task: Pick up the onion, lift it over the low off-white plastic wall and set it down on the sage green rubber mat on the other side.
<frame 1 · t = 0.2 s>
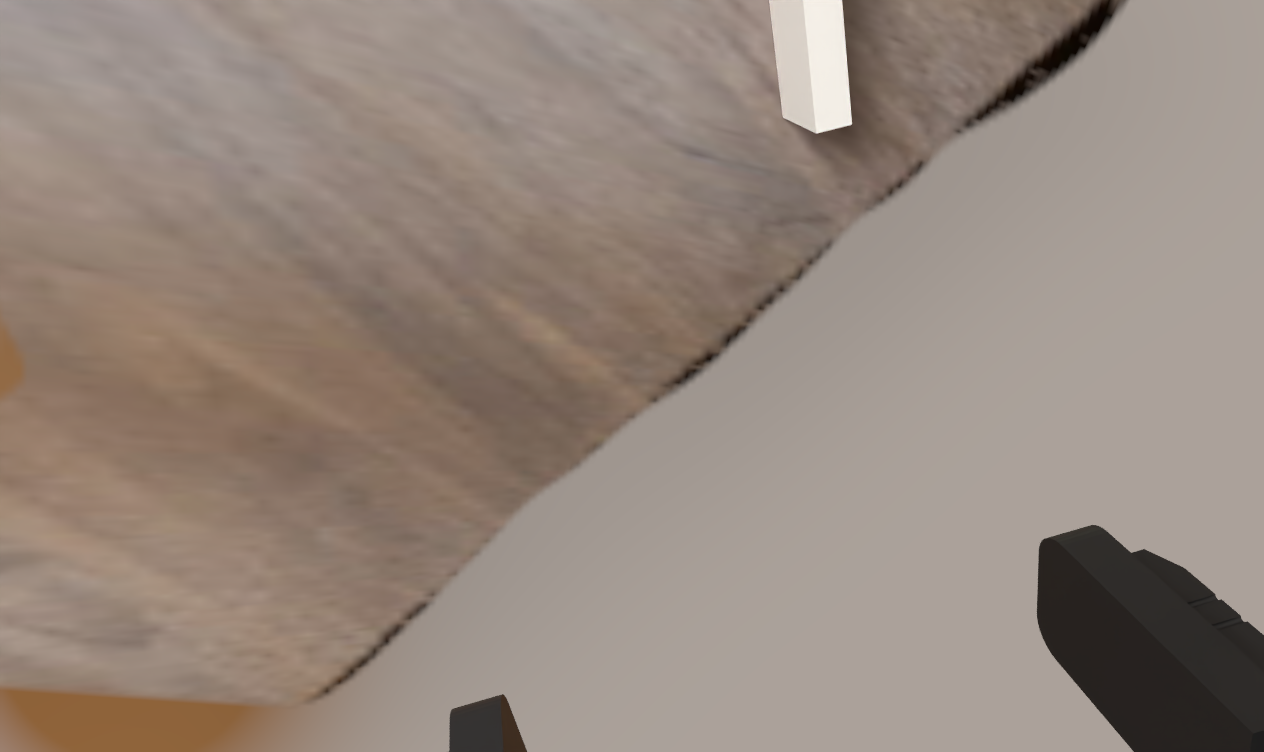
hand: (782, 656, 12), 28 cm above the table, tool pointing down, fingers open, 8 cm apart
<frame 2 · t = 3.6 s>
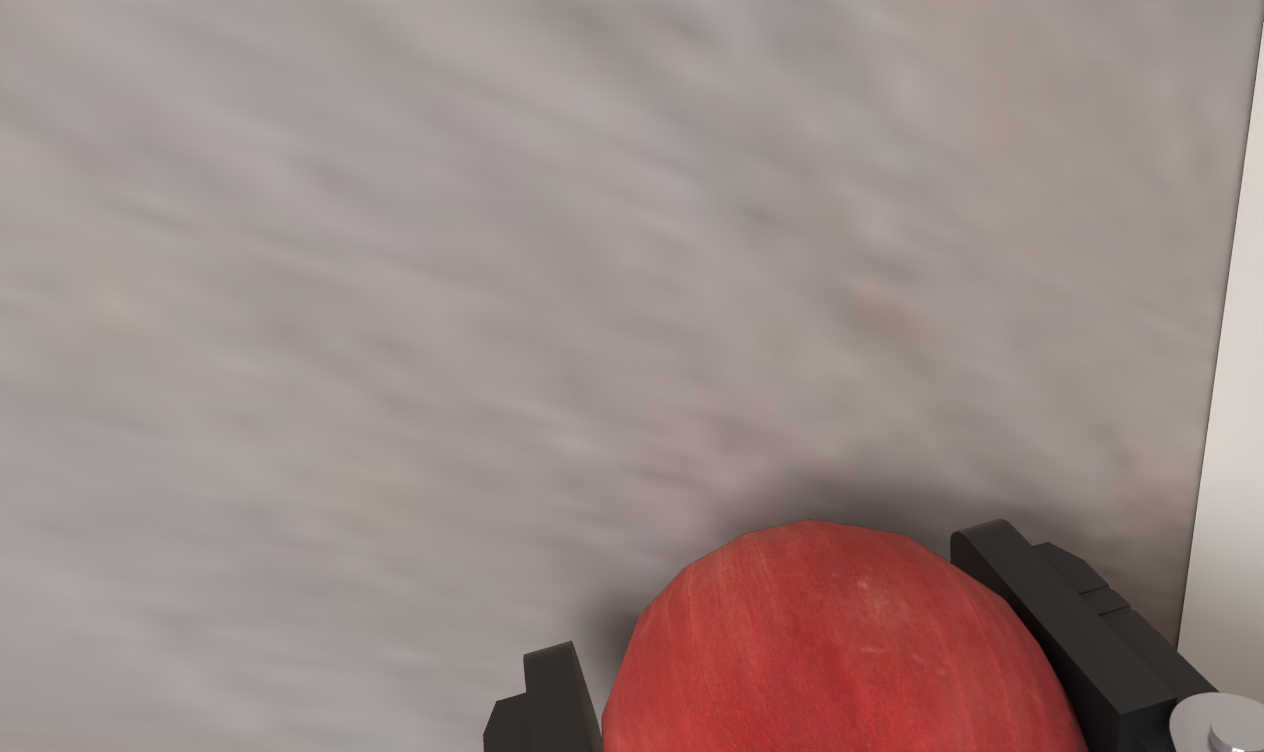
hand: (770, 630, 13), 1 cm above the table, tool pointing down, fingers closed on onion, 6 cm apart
low wall: (1231, 519, 16), on the table
onion: (742, 563, 14), on the table, touching gripper
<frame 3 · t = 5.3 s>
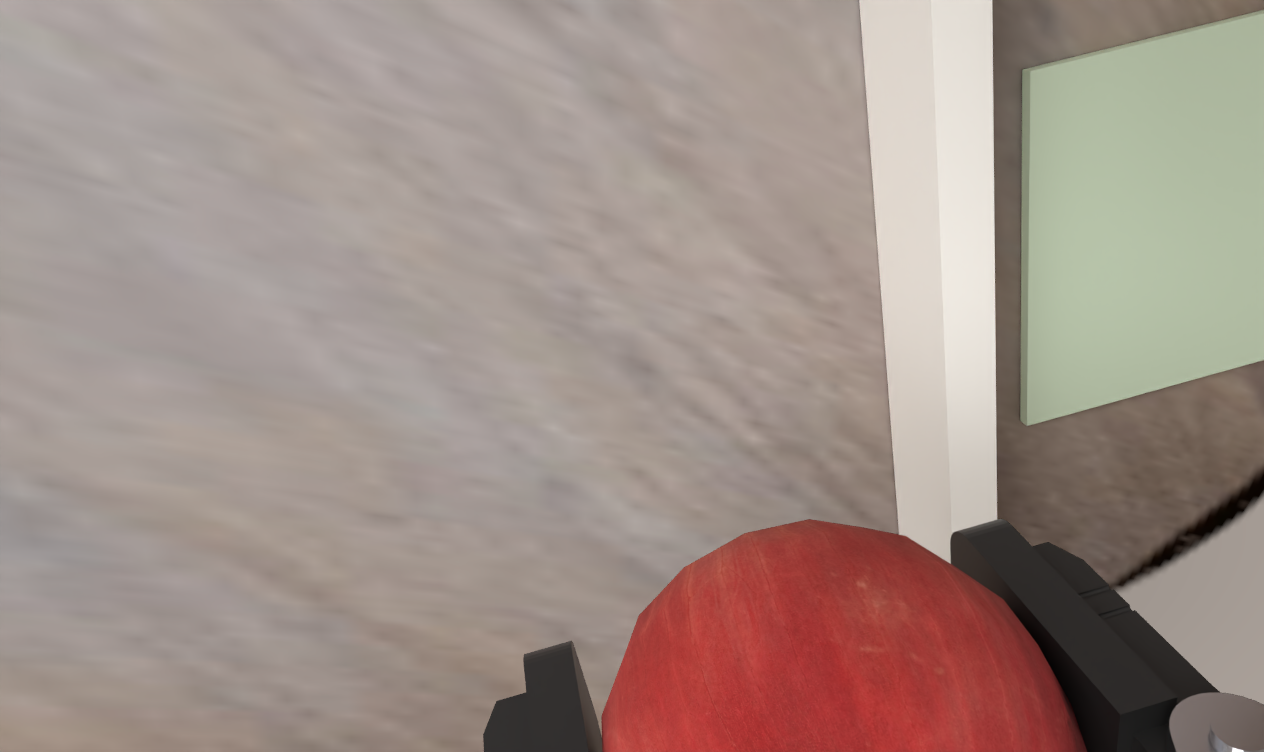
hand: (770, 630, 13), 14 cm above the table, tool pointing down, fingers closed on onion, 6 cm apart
low wall: (903, 293, 27), on the table
onion: (741, 562, 14), point 13 cm above the table, touching gripper
mat: (1192, 216, 28), on the table
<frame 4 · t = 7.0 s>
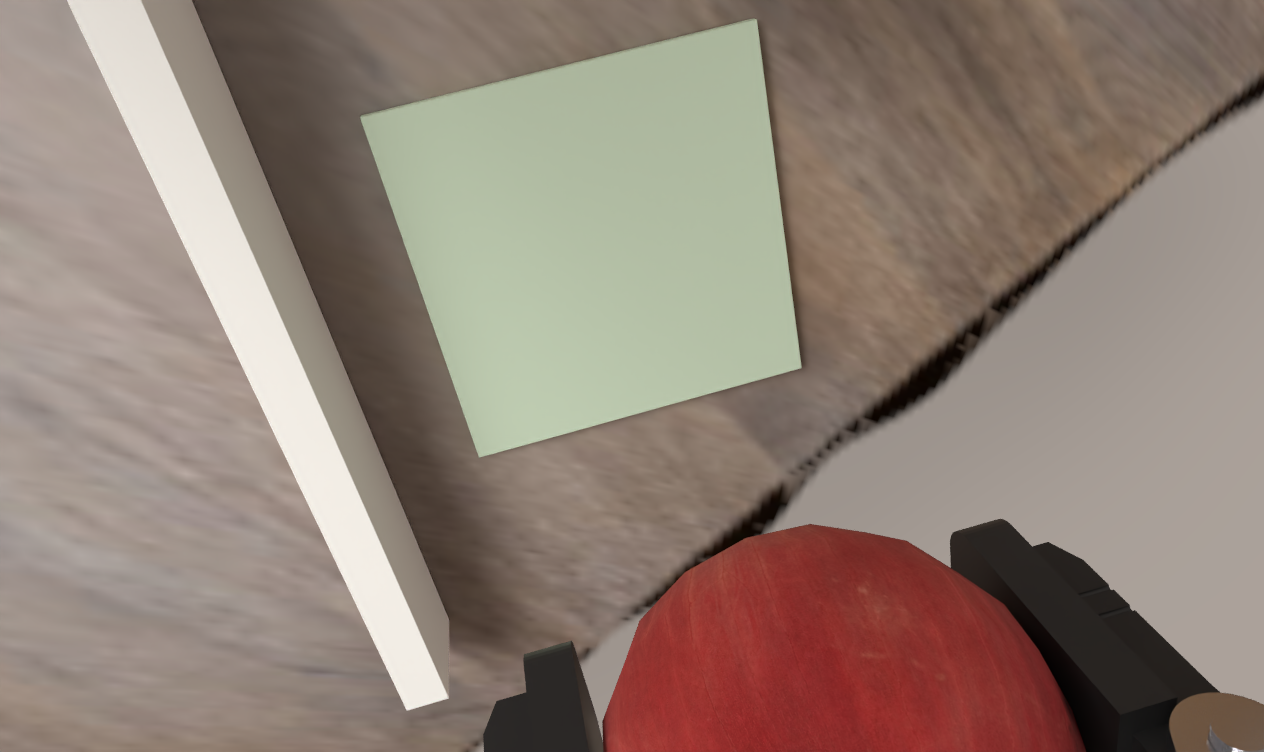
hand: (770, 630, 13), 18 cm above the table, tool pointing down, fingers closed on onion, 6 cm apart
low wall: (304, 332, 28), on the table
onion: (742, 566, 14), point 16 cm above the table, touching gripper
mat: (604, 253, 28), on the table
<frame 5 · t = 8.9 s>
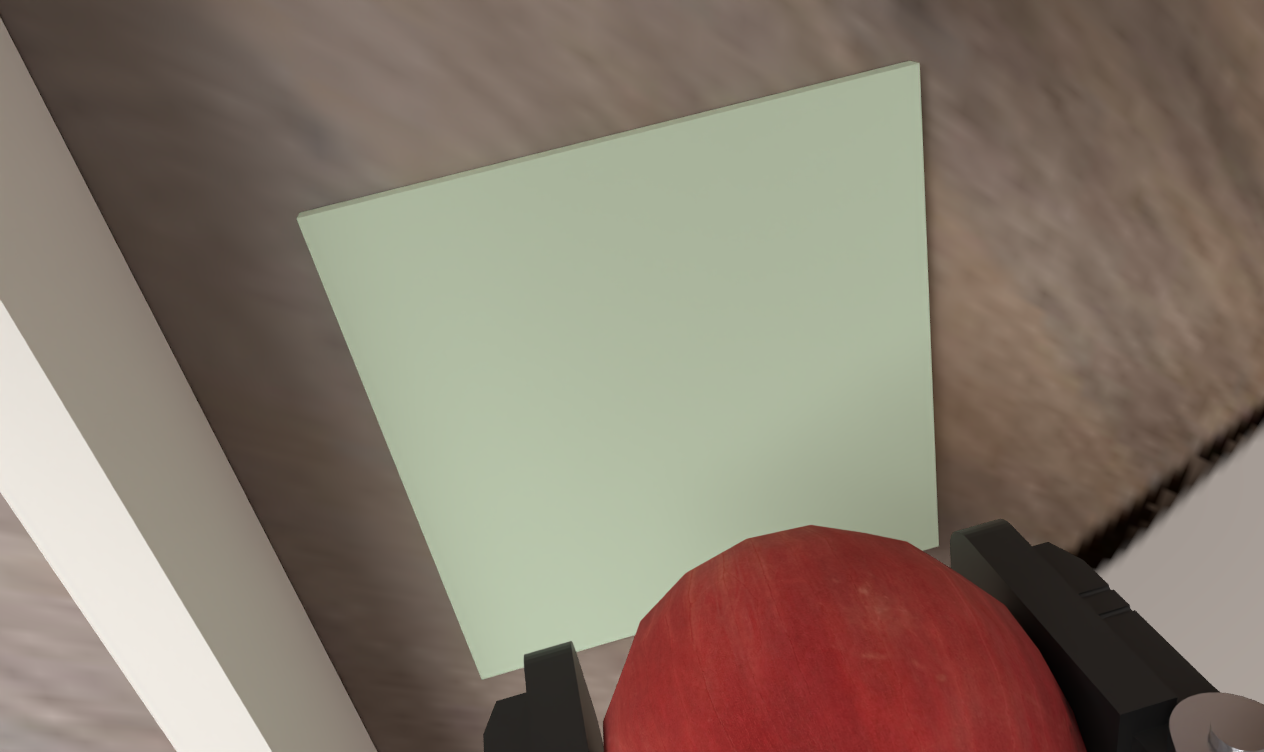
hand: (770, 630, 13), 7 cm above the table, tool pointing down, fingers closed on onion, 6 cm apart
low wall: (220, 524, 18), on the table
onion: (743, 567, 14), point 6 cm above the table, touching gripper
mat: (668, 402, 19), on the table
when the fingers open (3 cm above the table, at t = 10.7 s): onion drops 1 cm, resting on mat.
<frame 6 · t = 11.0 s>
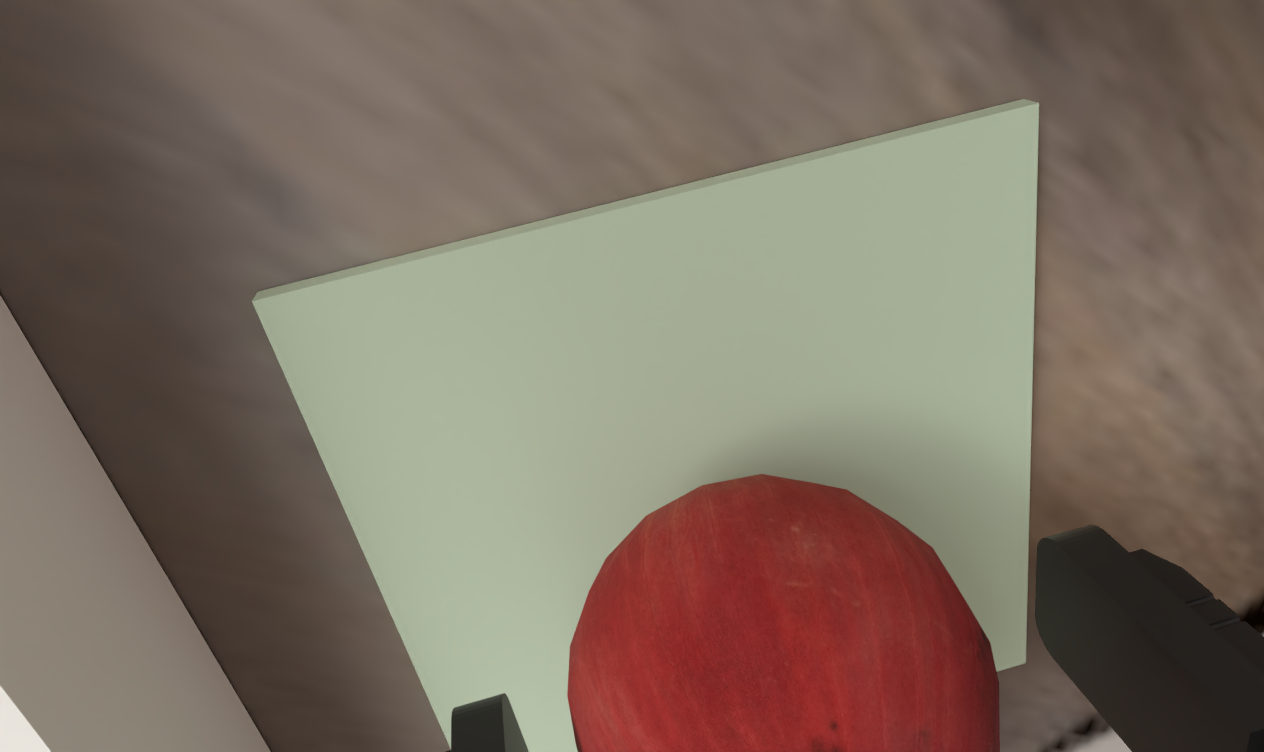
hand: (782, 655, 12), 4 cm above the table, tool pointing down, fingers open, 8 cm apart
low wall: (166, 660, 15), on the table
onion: (711, 516, 16), resting on mat
mat: (713, 507, 16), on the table
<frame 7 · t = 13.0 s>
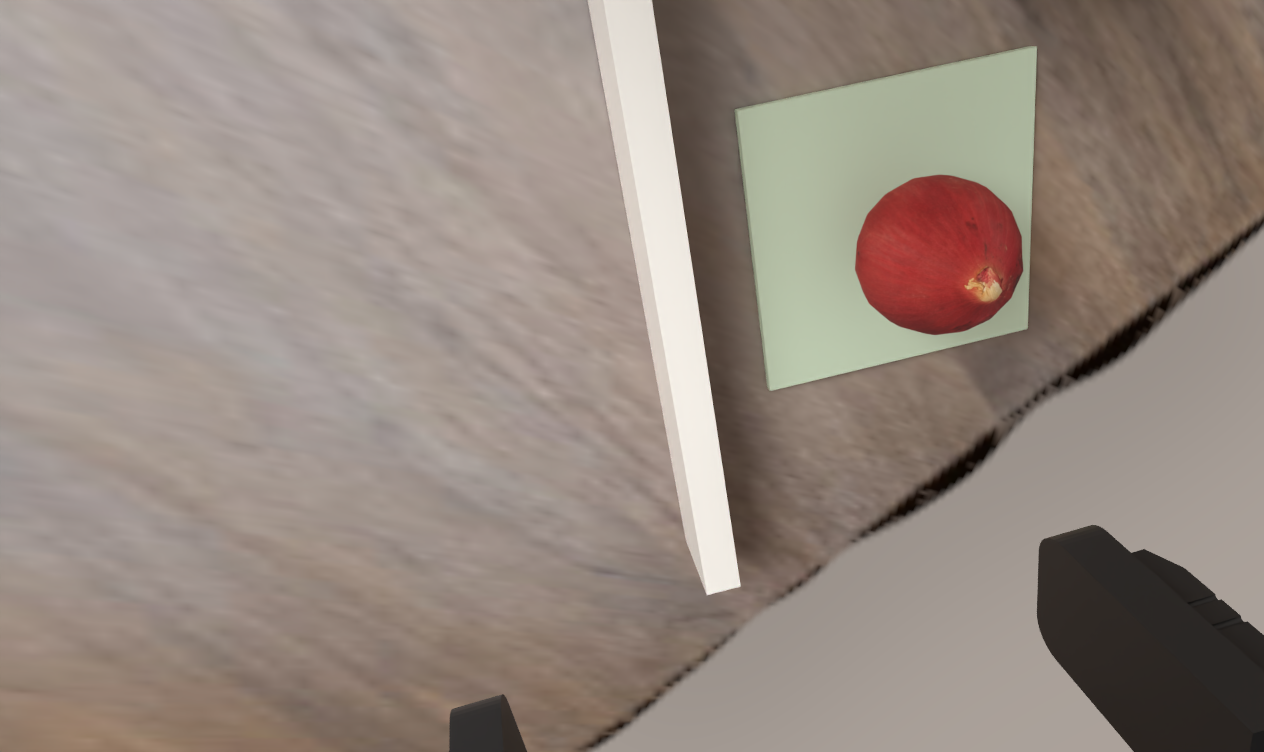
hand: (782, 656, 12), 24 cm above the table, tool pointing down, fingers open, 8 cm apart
low wall: (657, 280, 35), on the table
onion: (890, 228, 36), resting on mat
mat: (891, 226, 36), on the table
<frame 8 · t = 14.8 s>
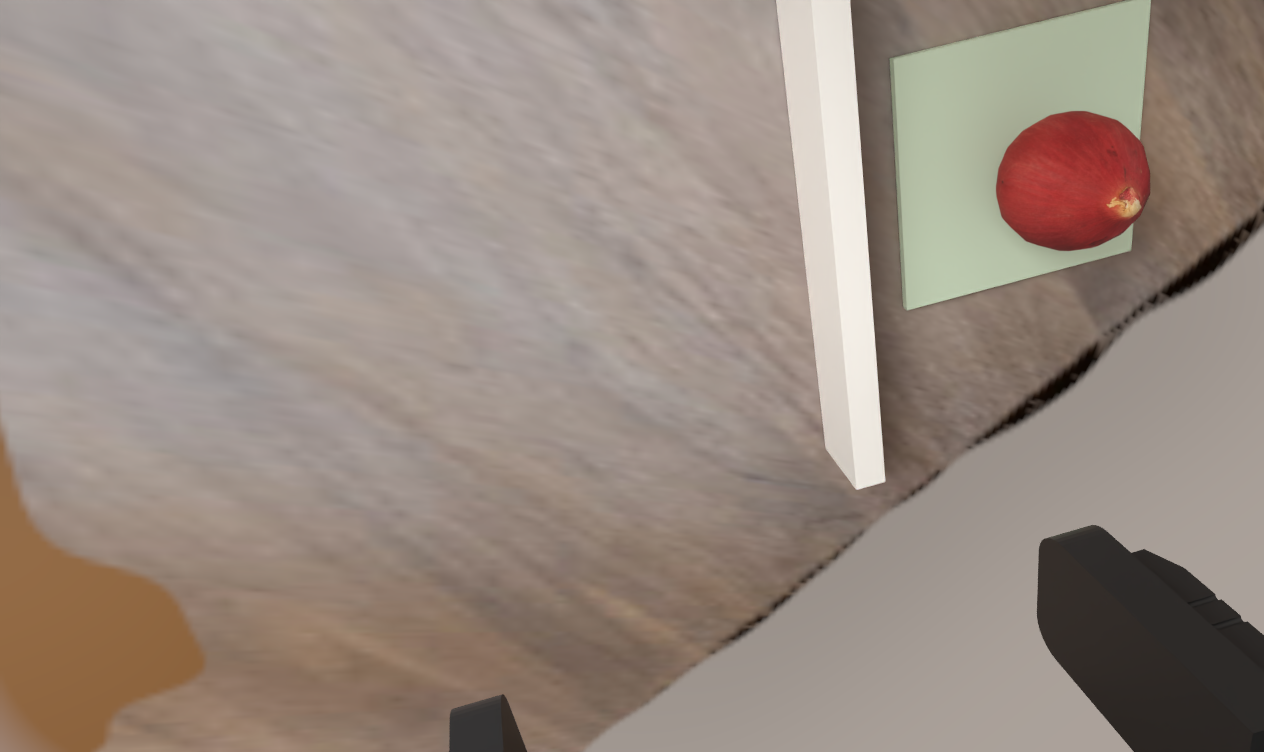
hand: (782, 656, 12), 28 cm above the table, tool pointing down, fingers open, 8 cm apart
low wall: (815, 212, 40), on the table
onion: (1017, 162, 40), resting on mat
mat: (1016, 160, 41), on the table
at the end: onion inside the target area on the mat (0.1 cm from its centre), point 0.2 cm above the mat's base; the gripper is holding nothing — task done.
